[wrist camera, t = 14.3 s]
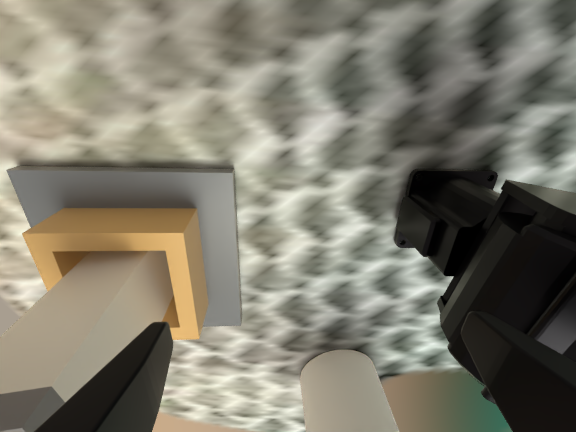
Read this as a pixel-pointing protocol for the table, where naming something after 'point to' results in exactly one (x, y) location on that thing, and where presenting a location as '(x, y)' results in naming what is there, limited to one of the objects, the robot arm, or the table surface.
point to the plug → (78, 331)
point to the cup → (344, 394)
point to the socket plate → (141, 230)
